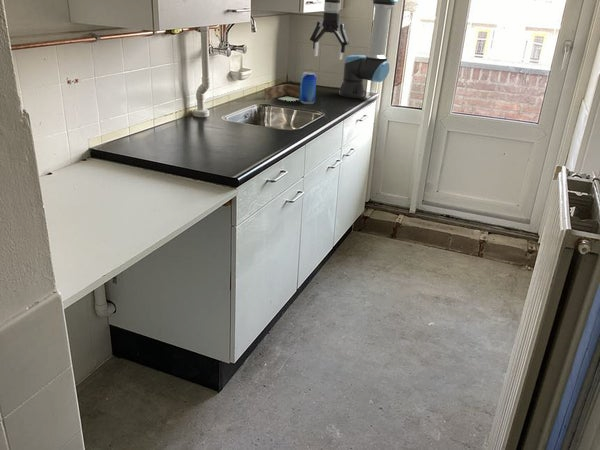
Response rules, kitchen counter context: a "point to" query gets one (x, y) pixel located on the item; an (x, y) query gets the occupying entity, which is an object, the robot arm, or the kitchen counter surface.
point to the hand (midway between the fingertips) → (328, 57)
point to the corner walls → (282, 91)
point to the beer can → (308, 88)
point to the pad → (289, 98)
